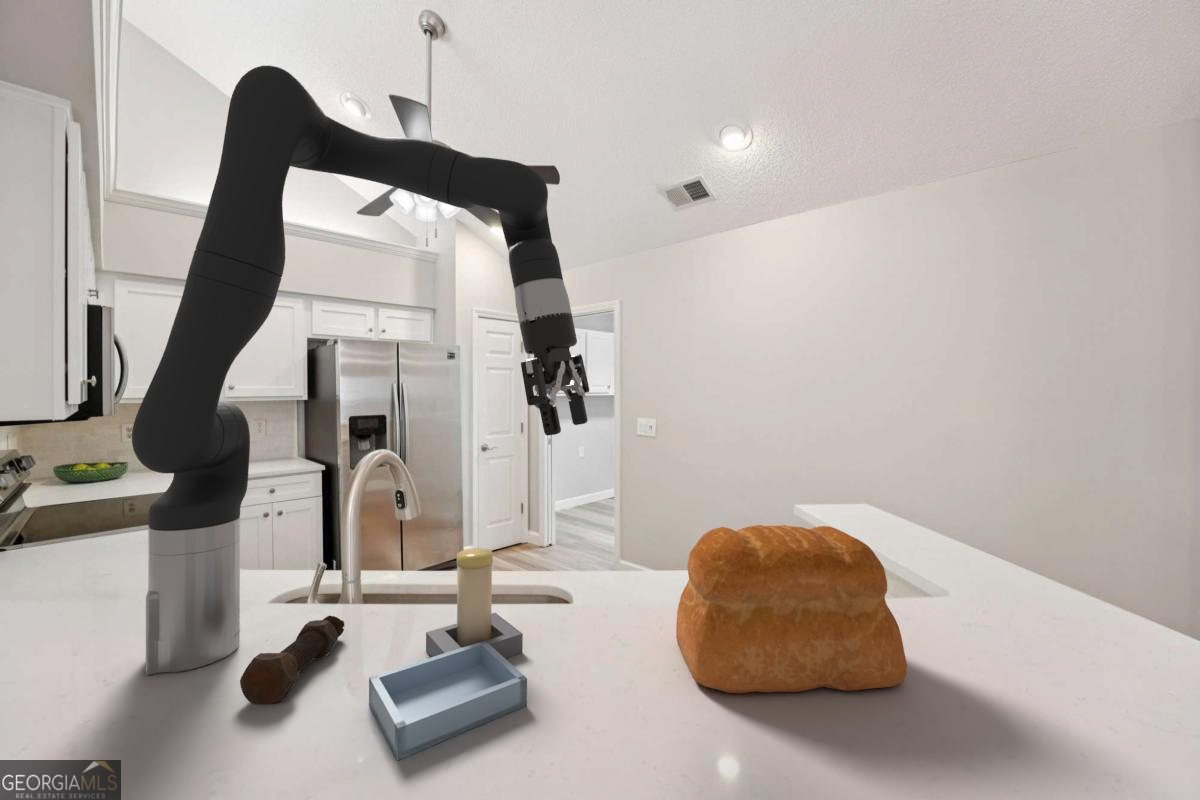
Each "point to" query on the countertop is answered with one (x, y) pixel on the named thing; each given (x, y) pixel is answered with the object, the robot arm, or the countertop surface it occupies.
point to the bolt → (288, 662)
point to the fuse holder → (502, 641)
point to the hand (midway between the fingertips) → (567, 429)
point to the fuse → (474, 596)
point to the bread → (787, 612)
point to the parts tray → (444, 696)
